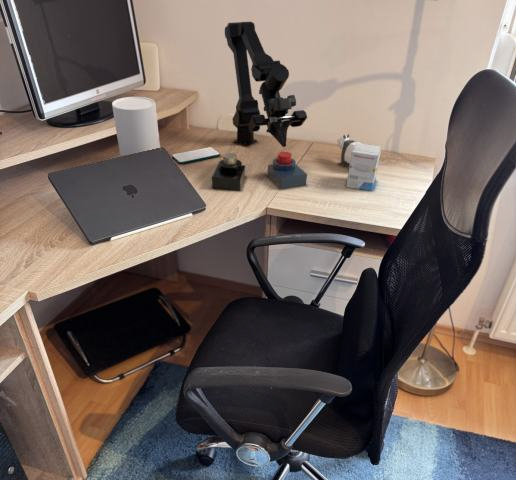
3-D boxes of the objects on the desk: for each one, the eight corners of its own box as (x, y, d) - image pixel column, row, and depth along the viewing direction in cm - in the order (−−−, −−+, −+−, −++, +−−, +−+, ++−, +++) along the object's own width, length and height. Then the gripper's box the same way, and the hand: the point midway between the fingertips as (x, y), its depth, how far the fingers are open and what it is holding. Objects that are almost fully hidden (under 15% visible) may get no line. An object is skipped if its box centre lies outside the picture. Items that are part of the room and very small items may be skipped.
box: (266, 175, 168) (267, 159, 164) (290, 171, 171) (291, 155, 167) (281, 189, 160) (282, 172, 157) (306, 185, 163) (307, 168, 159)
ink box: (375, 181, 167) (382, 146, 159) (371, 191, 161) (378, 155, 153) (350, 177, 169) (356, 142, 161) (345, 186, 163) (351, 151, 155)
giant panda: (367, 171, 173) (372, 143, 167) (354, 174, 171) (359, 146, 164) (342, 156, 182) (346, 129, 176) (329, 159, 180) (333, 132, 174)
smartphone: (180, 165, 173) (221, 156, 179) (179, 162, 172) (221, 154, 178) (171, 157, 178) (211, 149, 184) (170, 154, 177) (211, 146, 183)
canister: (167, 168, 170) (161, 106, 157) (130, 175, 165) (120, 112, 152) (152, 154, 179) (145, 94, 165) (116, 161, 173) (106, 99, 160)
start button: (275, 160, 164) (275, 152, 163) (287, 159, 166) (288, 151, 164) (281, 166, 161) (281, 157, 160) (293, 164, 163) (293, 155, 161)
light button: (224, 160, 163) (224, 152, 161) (238, 162, 163) (238, 153, 161) (222, 166, 160) (222, 157, 158) (235, 167, 160) (235, 158, 158)
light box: (219, 174, 168) (218, 157, 164) (245, 176, 167) (245, 159, 164) (212, 188, 159) (211, 171, 156) (240, 191, 159) (240, 174, 155)
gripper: (252, 87, 150) (265, 137, 150) (307, 82, 156) (320, 130, 156) (242, 107, 161) (255, 154, 161) (294, 102, 167) (306, 147, 166)
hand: (284, 146), depth 161 cm, fingers closed
